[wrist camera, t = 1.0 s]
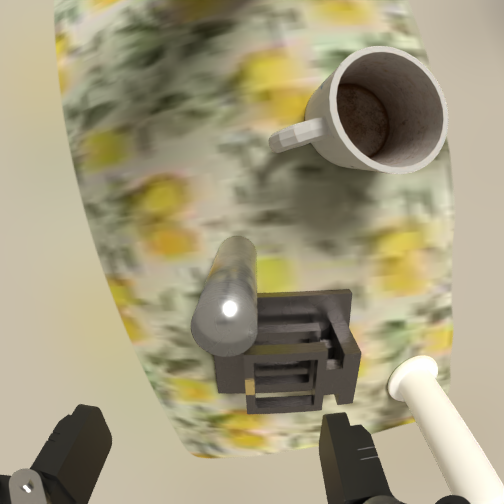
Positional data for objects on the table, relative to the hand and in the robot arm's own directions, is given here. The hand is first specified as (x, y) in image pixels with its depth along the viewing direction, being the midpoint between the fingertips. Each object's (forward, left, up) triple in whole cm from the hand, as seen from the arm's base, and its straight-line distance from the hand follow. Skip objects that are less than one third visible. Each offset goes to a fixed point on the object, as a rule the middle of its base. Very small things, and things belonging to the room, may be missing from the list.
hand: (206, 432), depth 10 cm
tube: (0, 0, -22) cm, 22 cm away
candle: (+17, +21, -22) cm, 35 cm away
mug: (-12, +9, -22) cm, 26 cm away
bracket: (+10, +4, -22) cm, 24 cm away
